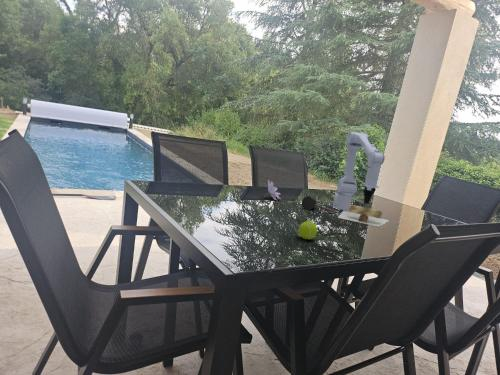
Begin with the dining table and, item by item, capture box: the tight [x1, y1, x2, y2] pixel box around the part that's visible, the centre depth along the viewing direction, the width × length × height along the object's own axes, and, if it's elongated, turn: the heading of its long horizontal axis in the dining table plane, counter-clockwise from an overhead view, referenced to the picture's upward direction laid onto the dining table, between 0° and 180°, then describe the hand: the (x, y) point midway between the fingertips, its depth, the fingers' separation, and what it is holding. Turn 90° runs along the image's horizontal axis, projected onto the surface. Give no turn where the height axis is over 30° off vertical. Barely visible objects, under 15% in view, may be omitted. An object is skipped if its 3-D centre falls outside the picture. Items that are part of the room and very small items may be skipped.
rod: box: [347, 204, 383, 219], centre depth 193 cm, size 16×3×3 cm, turn 69°
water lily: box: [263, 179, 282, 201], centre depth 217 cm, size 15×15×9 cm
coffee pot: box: [301, 195, 337, 214], centre depth 204 cm, size 8×18×8 cm
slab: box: [337, 210, 389, 228], centre depth 198 cm, size 24×22×1 cm
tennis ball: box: [298, 220, 318, 241], centre depth 148 cm, size 7×7×7 cm
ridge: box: [359, 215, 368, 223], centre depth 194 cm, size 4×8×3 cm, turn 159°
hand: (366, 202), depth 193 cm, fingers open, 7 cm apart
